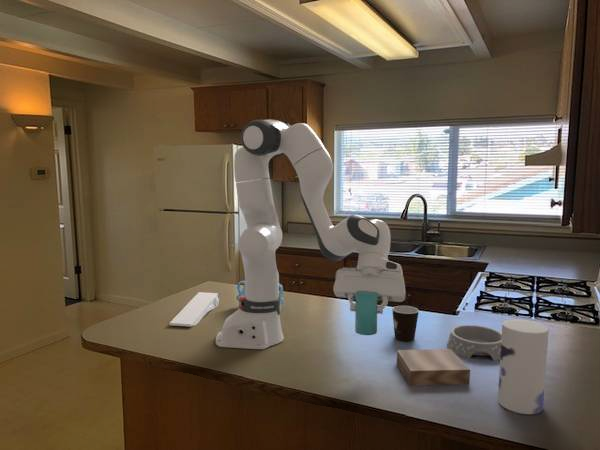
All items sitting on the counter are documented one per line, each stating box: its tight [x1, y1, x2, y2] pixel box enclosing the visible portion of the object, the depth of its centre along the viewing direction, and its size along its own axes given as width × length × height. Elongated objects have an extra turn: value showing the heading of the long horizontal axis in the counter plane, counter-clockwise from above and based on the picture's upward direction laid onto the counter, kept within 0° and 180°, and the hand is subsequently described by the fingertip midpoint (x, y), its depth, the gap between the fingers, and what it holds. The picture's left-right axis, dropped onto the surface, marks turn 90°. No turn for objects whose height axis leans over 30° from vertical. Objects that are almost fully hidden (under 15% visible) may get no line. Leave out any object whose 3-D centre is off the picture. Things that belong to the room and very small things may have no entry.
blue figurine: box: [236, 280, 285, 305], centre depth 189 cm, size 16×16×14 cm
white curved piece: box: [169, 291, 220, 328], centre depth 182 cm, size 10×7×28 cm
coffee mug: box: [391, 305, 420, 343], centre depth 159 cm, size 12×9×10 cm
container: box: [497, 318, 550, 415], centre depth 114 cm, size 10×10×20 cm
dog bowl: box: [446, 324, 502, 361], centre depth 149 cm, size 17×18×5 cm
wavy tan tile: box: [396, 348, 471, 386], centre depth 132 cm, size 16×14×4 cm
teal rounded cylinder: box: [354, 291, 378, 336], centre depth 131 cm, size 6×6×11 cm
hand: (366, 311), depth 130 cm, fingers closed on teal rounded cylinder, 6 cm apart
